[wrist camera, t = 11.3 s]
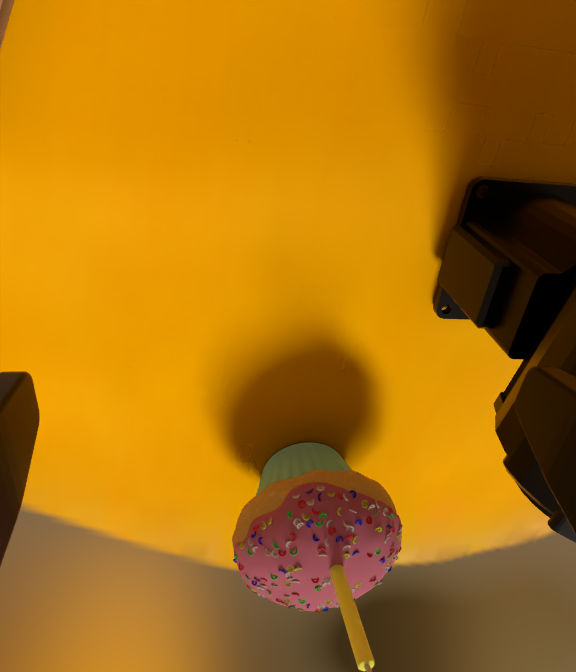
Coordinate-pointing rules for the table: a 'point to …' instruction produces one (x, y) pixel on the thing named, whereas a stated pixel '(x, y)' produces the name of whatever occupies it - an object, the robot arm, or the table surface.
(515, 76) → the table surface
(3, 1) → the grey bracket
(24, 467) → the robot arm
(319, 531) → the cupcake
